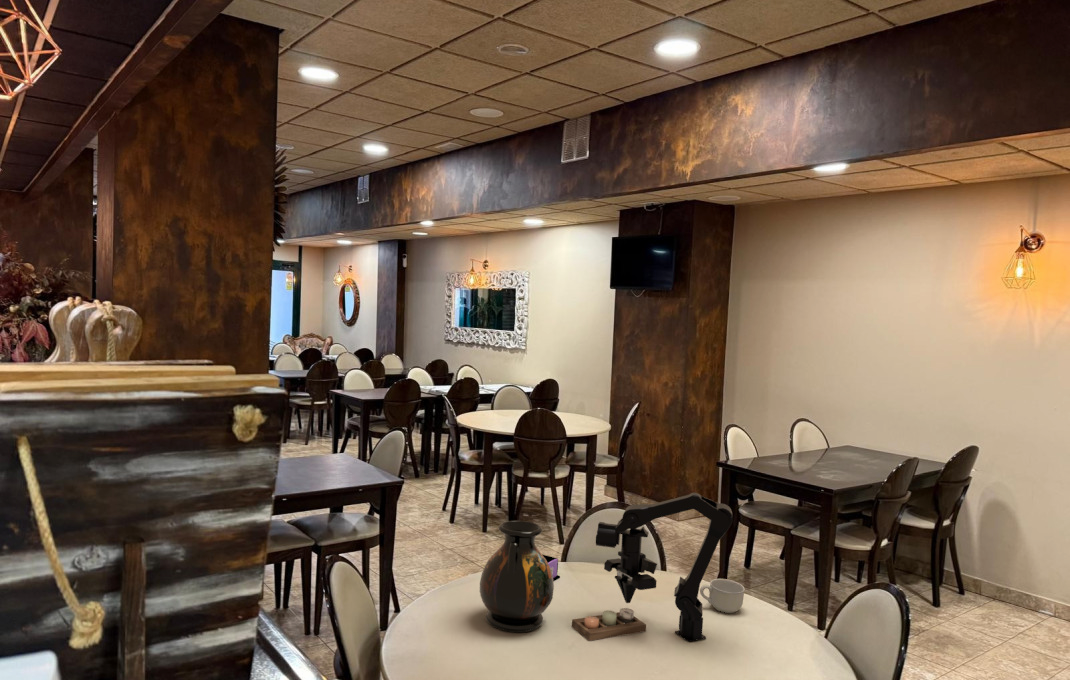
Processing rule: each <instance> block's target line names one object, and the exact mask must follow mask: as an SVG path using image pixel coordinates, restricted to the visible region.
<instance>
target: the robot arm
mask: <svg viewBox="0 0 1070 680" xmlns="http://www.w3.org/2000/svg"><path fill="white" fill-rule="evenodd" d="M691 510H694V511H696V512H697V513H700V514H701V515H702V516H704V517H705V518H706V519H708V520H709V522H708V527H707V530H706V531H707V532H706V534H705V536H704V539H703V540H702V543H701V545H700V547H699V550H698V552H697V555H696V556H695V558H694V561H693V564H692V566H691V568H690V570H689V571H688V575H687V576H686V577H685V578H683V577H681V576H680V577H679V580H678V584H677V585H675V588H674V592H673V593H674V594H673V597H674V599H675V600H674V603H675V607H676V608H677V609H678V610H679V611H680V613H679V620H678V622H679V623H678V630H675V631H674V633H675V634H676V635H678V636H679V637H681V638H682V639H683V640H685V641H687V642H689V643H691V642H696V641H702V640H706V639H707V636H706V635H704V634H703V627H704V625H703V623H704V617H703V612H704V611H703V603H702V601H700V600H699V598H698V595H699V593H700V588H701V587H700V585H701V582H702V580H703V578H704V576H705V574H706V571H707V569H708V567H709V564H710V562H711V560H712V558H713V555H714V553H715V551H716V548H717V547H718V544H719V541H720V540H721V539H722V538H723V537H724V536H725V534H726V533H727V532H728V530H729V529H730V527H732V524H733V521H734V517H733V511H732V509H731V507H730V506H729V505H728V504H725V503H718V502H716V501H715V500H713V499H709V498H707V497H705V496H703V495H701V494H699V493H698V492H692V493H690V494H687V495H683V496H679V497H676V498H672V499H667V500H663V501H660V502H655V503H651V504H648V503H647V504H646V503H639V504H631V505H628V506H627V507H626V508H625V509H624V512H623V513H622V517H621V519H619V520H618V522H617V524H616V523H615V524H614V523H606V522H602V521H599V522H598V525H597V531H596V535H595V546H597V547H603V548H612V549H613V548H614V549H615V548H616V547H617V545H618V546H621V549H620V551H617V555H618V556H619V557H620V558H611V559H606V561H605V562H604V563H603V564H604V567H603V568H604V569H603V570H605V571H606V572H608V573H611V571H613V569H615V571H616V575H615V576H614V579H615V580H616V582H617V584H618V587H619V589H620V591H621V594H622V596H623V599H624V602H625V603H626V604H631V602H632V599H633V597H634V595H635V592H636V590H639V591H645V590H652V589H656V588H657V580H656V578H655V577H653V576H652V575H654V574H655V572H656V569H657V566H658V563H657V562H656V561H653V560H651V559H648V557H647V556H646V554H645V553H643V552H642V540H643V539H642V538H648V537H649V531H648V530H647V529H645V525H647V524H649V523H650V522H652V521H654V520H655V519H659V518H664V517H668V516H670V515H671V516H672V515H675V514H680V513H683V512H687V511H691ZM640 527H641V528H640ZM620 542H621V545H620ZM646 557H647V558H646ZM645 572H648V573H651V574H652V575H650V574H648V573H645Z"/></svg>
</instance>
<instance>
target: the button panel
mask: <svg viewBox="0 0 1070 680" xmlns="http://www.w3.org/2000/svg"><path fill="white" fill-rule="evenodd" d="M616 613H617V617H616V625H613V626H605V625H604V624H602V617H603V614H599V615H592V616H593V617H596V618H598V619H599V626H598V628H595V629H587V628H586V627H585V626H584V624H585V617H580V618H579V617H578V618H574V619H571V628H573V629H574V630H576V631H577V632H578V633H579V634H580V635H582V636H583V637H585V638H586V639H587V640H588V641H589V642H590V641H596V640H603V639H608V638H615V637H620V636H626V635H627V636H628V635H632V634H637V633H643V632H644V633H645V632H646V630H647V624H646V623H645V622H643V621H641V620H640V619H639V618H638V617H636V616H633V622H632V623H626V624H625V623H622V622H621V621H619V619H620V611H618V612H616Z"/></svg>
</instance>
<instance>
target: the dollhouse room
mask: <svg viewBox="0 0 1070 680" xmlns="http://www.w3.org/2000/svg"><path fill="white" fill-rule="evenodd" d="M542 555H543V556H544V558H545V559H546V561H547V562H548V564H549V566H550V569H551V571H552V575H553V582H555V581H557V580H559V579H560V578H561V576H560V575H558V568H559V558H557V557H554V556H550V555H546V554H542Z"/></svg>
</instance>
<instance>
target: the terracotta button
mask: <svg viewBox="0 0 1070 680" xmlns="http://www.w3.org/2000/svg"><path fill="white" fill-rule="evenodd" d="M593 616H594V615H588V616H585V617H584V618H585V624H584V626H585V627H586V628H587V629H595V628H598V626H599V619H598V618H596V617H593Z"/></svg>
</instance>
